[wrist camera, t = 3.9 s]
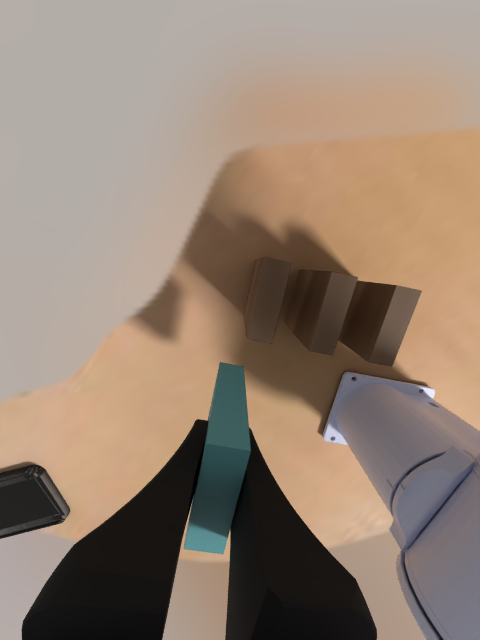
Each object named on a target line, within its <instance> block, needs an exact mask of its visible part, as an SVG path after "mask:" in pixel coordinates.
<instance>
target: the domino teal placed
mask: <svg viewBox="0 0 480 640" xmlns="http://www.w3.org/2000/svg"><path fill="white" fill-rule="evenodd" d="M208 421H209V423H208V429H207V435H206V440H205V445H204V450H203V454H202V459H201V464H200V469H199V474H198V478H197V483H196V488H195V492H194V496H193V501H192V506H191V512H190V517H189V523H188V528H187V533H186V539H185V544H184V549H188V550H195V551H202V552H210V553H217V554H223V553H224V550H225V546H226V542H227V538H228V534H229V531H230V527H231V523H232V519H233V516H234V512H235V508H236V504H237V501H238V497H239V493H240V489H241V486H242V482H243V478H244V474H245V471H246V467H247V463H248V459H249V456H250V452H251V448H250V436H249V424H248V412H247V400H246V388H245V377H244V367H243V366H238V365H232V364H227V363H222V362H220V364H219V369H218V374H217V378H216V383H215V388H214V393H213V397H212V402H211V407H210V412H209V416H208Z"/></svg>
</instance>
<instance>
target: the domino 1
mask: <svg viewBox="0 0 480 640" xmlns="http://www.w3.org/2000/svg"><path fill="white" fill-rule="evenodd" d="M291 265H292V263H289V262H284V261H280V260H275V259H270V258H266V257H264V258H261V259H258V260H255V265H254V269H253V274H252V279H251V284H250V288H249V293H248V298H247V302H246V307H245V312H244V321H245V329H246V337H247V339H249V340H255V341H260V342H265V343H270V344H272V341H273V337H274V333H275V329H276V325H277V321H278V317H279V313H280V309H281V305H282V301H283V297H284V293H285V289H286V285H287V281H288V277H289V273H290V269H291Z"/></svg>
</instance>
